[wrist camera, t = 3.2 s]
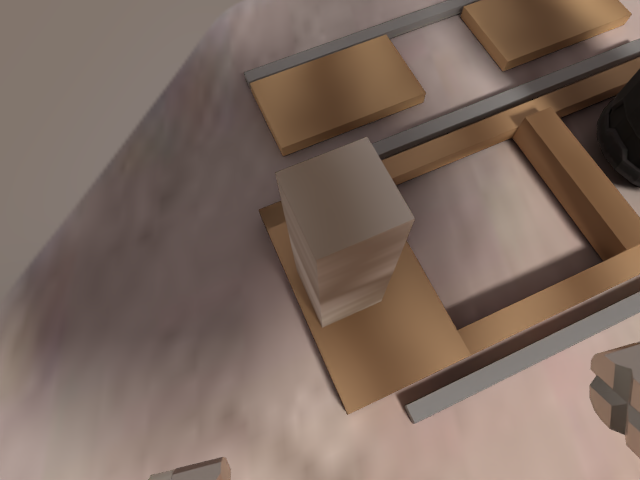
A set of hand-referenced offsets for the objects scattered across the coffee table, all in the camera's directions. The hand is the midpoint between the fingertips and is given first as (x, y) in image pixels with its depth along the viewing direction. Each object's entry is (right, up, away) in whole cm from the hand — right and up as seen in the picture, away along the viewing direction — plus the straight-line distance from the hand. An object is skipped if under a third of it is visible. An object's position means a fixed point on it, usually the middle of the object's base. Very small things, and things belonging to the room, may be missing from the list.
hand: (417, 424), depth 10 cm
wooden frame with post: (+9, +6, +14) cm, 18 cm away
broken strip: (+5, +15, +18) cm, 24 cm away
